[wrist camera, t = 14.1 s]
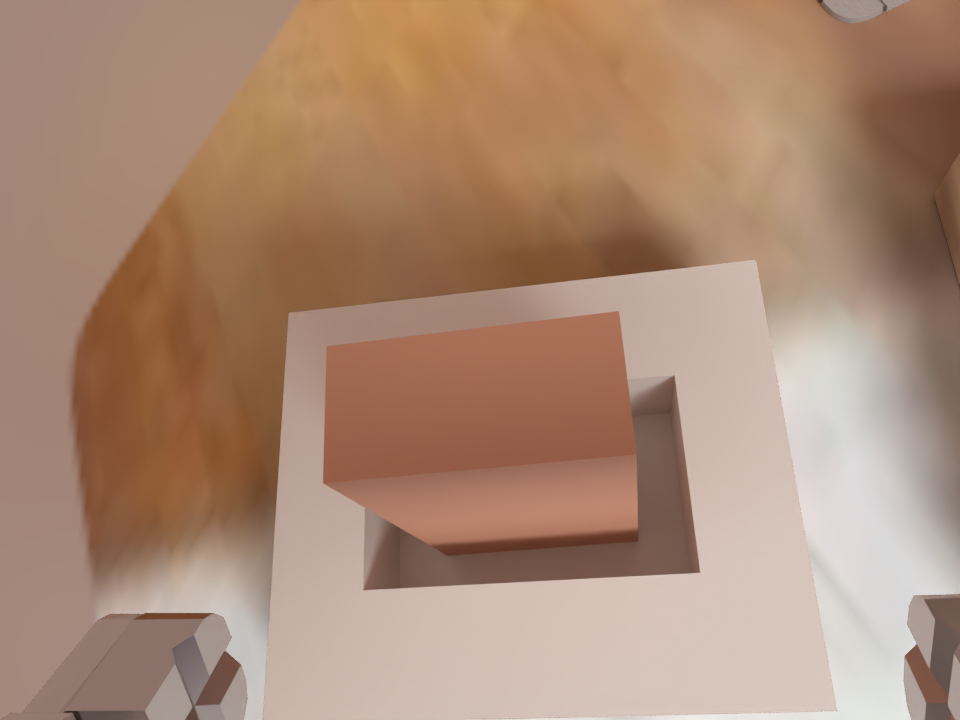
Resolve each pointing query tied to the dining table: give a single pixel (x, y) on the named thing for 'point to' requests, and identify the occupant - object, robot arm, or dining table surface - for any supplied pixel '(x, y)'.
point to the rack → (563, 570)
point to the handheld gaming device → (858, 9)
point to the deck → (951, 211)
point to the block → (488, 434)
